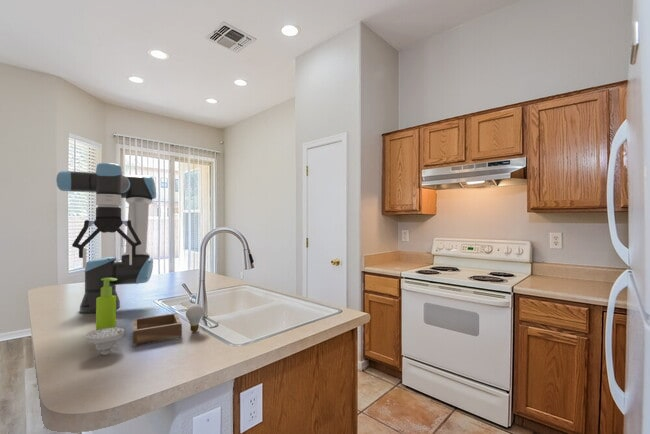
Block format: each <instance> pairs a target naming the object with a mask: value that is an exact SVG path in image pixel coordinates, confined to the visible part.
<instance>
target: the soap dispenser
mask: <svg viewBox="0 0 650 434" xmlns="http://www.w3.org/2000/svg"><path fill="white" fill-rule="evenodd" d="M101 280H104V287H102V288H101V297H98V298H96V313H95V331H96V330H100V329H105V328H110V327H111V328H114V327H115V328H117V308H116V296H114V295H112V287H111V286H109V280H110V281H116V280H118V279H116V278H103V279H101Z"/></svg>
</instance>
